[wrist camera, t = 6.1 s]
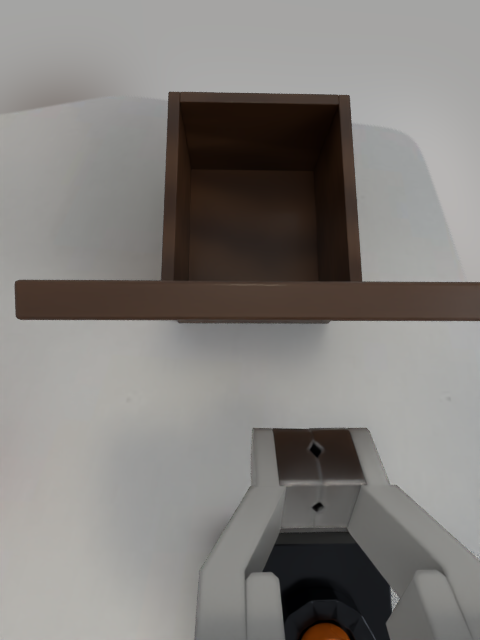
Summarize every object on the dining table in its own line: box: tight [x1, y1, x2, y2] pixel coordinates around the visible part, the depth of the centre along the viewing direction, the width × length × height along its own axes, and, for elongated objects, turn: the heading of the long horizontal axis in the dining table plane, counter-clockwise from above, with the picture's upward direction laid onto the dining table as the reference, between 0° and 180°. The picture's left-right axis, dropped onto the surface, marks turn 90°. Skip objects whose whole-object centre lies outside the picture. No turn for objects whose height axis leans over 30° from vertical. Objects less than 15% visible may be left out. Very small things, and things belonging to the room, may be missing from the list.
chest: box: [161, 92, 362, 323], centre depth 29 cm, size 15×13×9 cm
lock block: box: [262, 532, 392, 640], centre depth 26 cm, size 12×10×4 cm
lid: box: [15, 280, 480, 321], centre depth 15 cm, size 15×13×1 cm
